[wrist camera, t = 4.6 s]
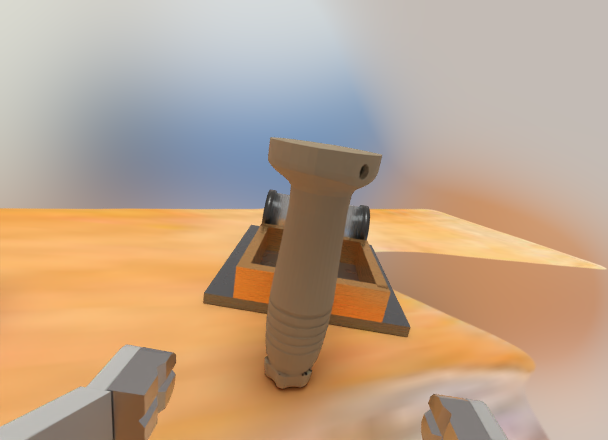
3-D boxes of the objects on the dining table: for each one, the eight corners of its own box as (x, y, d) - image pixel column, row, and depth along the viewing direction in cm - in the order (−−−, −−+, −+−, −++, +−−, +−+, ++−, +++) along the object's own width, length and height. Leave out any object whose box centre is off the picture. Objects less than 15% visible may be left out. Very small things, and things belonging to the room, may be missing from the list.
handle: (344, 373, 21) (399, 157, 16) (274, 429, 16) (324, 150, 12) (297, 334, 24) (332, 144, 19) (226, 371, 19) (252, 134, 15)
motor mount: (369, 250, 44) (381, 203, 42) (407, 336, 26) (431, 261, 23) (251, 230, 44) (256, 182, 42) (203, 302, 25) (209, 224, 23)
